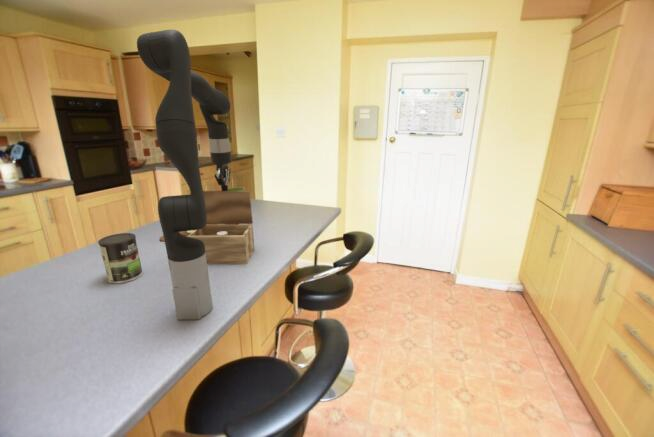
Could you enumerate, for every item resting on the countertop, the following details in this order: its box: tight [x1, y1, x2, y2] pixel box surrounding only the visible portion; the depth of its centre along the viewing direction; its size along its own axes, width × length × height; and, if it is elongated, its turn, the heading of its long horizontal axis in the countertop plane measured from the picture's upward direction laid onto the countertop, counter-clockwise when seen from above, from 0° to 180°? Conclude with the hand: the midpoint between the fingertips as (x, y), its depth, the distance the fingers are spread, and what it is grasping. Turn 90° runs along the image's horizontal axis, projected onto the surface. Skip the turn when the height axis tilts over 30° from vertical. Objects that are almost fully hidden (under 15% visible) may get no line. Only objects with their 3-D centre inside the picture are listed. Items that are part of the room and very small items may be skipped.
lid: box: [203, 190, 254, 224], centre depth 121 cm, size 14×21×2 cm
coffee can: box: [97, 232, 144, 284], centre depth 102 cm, size 10×10×14 cm
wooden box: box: [187, 224, 255, 265], centre depth 118 cm, size 14×21×11 cm, turn 91°
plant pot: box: [228, 186, 245, 191], centre depth 188 cm, size 12×12×11 cm
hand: (225, 194), depth 121 cm, fingers closed
